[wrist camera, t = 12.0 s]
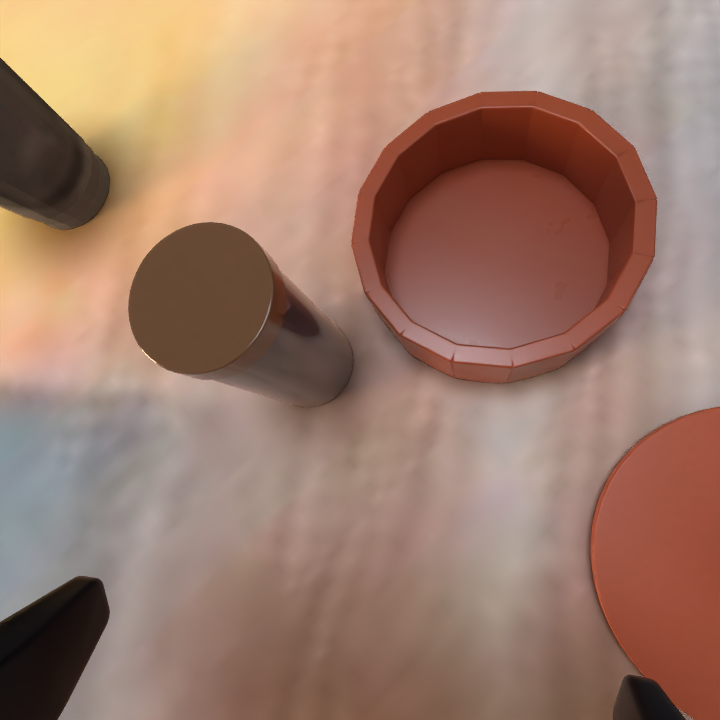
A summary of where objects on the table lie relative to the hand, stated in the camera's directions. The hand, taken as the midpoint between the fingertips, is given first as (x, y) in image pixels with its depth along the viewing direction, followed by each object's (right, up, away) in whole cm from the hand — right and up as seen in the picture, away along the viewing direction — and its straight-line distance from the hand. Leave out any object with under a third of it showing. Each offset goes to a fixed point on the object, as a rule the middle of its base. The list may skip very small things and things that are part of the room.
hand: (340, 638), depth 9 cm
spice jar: (-2, +5, +14) cm, 15 cm away
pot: (+6, +9, +14) cm, 17 cm away
